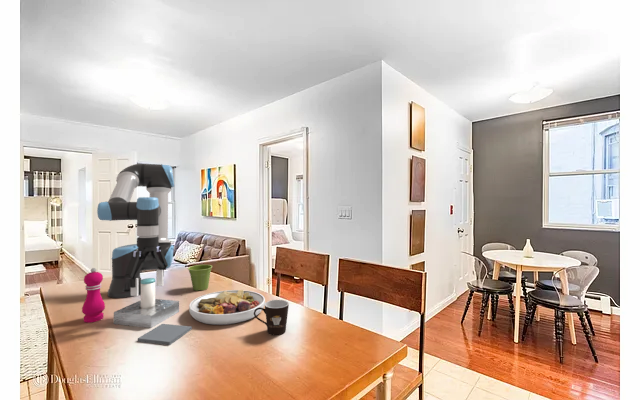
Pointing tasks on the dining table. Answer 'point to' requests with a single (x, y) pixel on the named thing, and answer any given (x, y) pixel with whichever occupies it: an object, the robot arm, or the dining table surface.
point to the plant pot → (200, 276)
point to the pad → (165, 334)
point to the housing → (146, 313)
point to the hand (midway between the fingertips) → (147, 290)
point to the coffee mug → (275, 316)
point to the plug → (147, 293)
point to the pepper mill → (93, 297)
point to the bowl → (226, 307)
